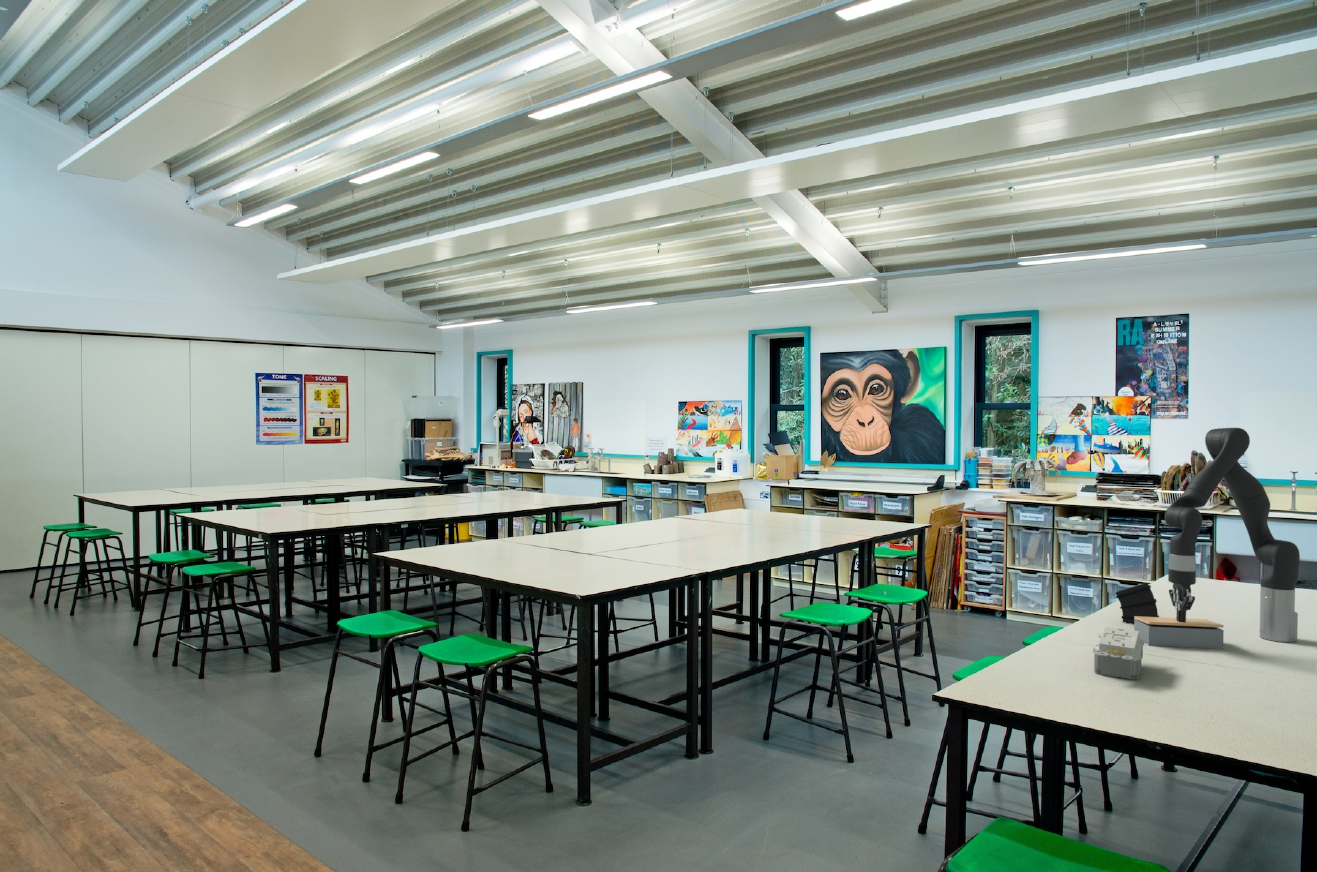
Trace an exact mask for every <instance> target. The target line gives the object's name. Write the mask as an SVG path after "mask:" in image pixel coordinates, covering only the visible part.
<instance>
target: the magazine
mask: <svg viewBox="0 0 1317 872" xmlns="http://www.w3.org/2000/svg"><path fill="white" fill-rule="evenodd" d="M1151 587H1152V585H1150V584H1149V583H1148V582H1144V583H1142V584H1138V585H1135V586H1131V587H1128V588H1125V589H1122V590H1117V591H1115V595H1116V596H1115V599H1118V601H1119V603H1120V606H1119V608H1120V610H1121V611H1122V613H1121V614H1122V615H1121V619H1122V623H1123V622H1126V623H1125V624H1129V623H1132V624H1131V625H1134V616H1140V617H1160V615H1158V613H1159V612H1158V607H1157V602H1158V601H1157V598H1155V596H1154V594H1153V593H1154V592H1153V591H1152V589H1151Z"/></svg>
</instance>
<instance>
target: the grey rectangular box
mask: <svg viewBox="0 0 1317 872" xmlns="http://www.w3.org/2000/svg"><path fill="white" fill-rule="evenodd" d="M1133 626H1134V629H1133V630H1134V631H1139V632H1140V633H1139V638H1141V639H1143V640H1144V644H1146V645H1147V644H1148V646H1153V645H1154V647H1155V646H1156V647H1160V646H1161V647H1175V648H1176V647H1177V648H1178V647H1179V648H1194V649H1195V648H1198V649H1199V648H1200V649H1215V650H1216V649H1217V650H1219V649H1221V650H1224V636H1225V635H1224V631H1225V630H1224V629H1222V628H1221V627H1199V626H1177V625H1155V624H1147V623H1145V622H1142V621H1139V620H1137V619H1134V624H1133Z"/></svg>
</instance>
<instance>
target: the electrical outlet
mask: <svg viewBox="0 0 1317 872" xmlns="http://www.w3.org/2000/svg"><path fill="white" fill-rule="evenodd" d="M1139 633H1140V632H1139V631H1134V629H1127V628H1124V629H1123V628H1120V627H1119V628H1117V627H1110V626H1109V627H1108V626H1104V629H1103V631H1102V632H1101V633H1100V634H1098V639H1097V641H1096V644H1095V646H1094V647H1093V649H1092V653H1093V654H1094V660H1093V661H1094V664H1093V665H1094V666H1093V667H1094V673H1095V674H1098V675H1099V674H1100V675H1101V674H1102V675H1101V676H1106V675H1107V677H1114V678H1118V677H1122V678H1121V679H1124V678H1127V679H1126V680H1137V679H1138V680H1139V679H1140V678H1139V677H1140V675H1141V670H1142V661H1143V660H1142V659H1143V654H1144V646H1145V643H1144V640H1143V639H1141V638H1139ZM1132 678H1134V679H1132Z"/></svg>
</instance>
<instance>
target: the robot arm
mask: <svg viewBox="0 0 1317 872" xmlns="http://www.w3.org/2000/svg"><path fill="white" fill-rule="evenodd" d="M1204 442H1205V448H1206V449H1207V451H1208V453H1209V455H1210V457H1211V459H1212V460H1211V462H1210V463H1208V465H1206V466H1205V467H1204V468H1202V469H1201V470H1200V471H1199V472H1196V474H1195V475H1194V476H1193V477H1192V479H1191V480H1190V482H1189V483H1188V484H1187V485H1186V488H1185V490H1184V491H1183V492H1182V494H1180V495H1179V496H1178V497H1177V498H1176V499H1175V500H1174V501H1173V502H1172V503H1171V504H1170V505H1169V506H1168V507H1167V508H1166V511H1165V512H1164V522H1165V523H1166V524H1167V526H1169V527H1170V528H1174V529H1175V528H1176V529H1181V530H1182V531H1181V533H1180V534H1178V535H1173V536H1172V537H1170V540H1169V557H1168V569H1167V570H1168V573H1167V575H1168V576H1167V577H1168V579H1167V580H1168V582H1169V583H1171V584H1172V589H1168V593H1169V594H1168V595H1169V597H1170V600H1171V603H1172V606H1173V607H1174V608H1175V610H1176V617H1175V618H1176V620H1177V621H1178V622H1186V619H1187V611H1191V609H1192V607H1193V604H1194V603H1195V600H1196V597H1195V596H1194V595H1193V596H1192V587H1191V586H1193V585H1196V583H1197V559H1196V544H1197V541H1198V538H1199V534H1200V531H1201V529H1202V525H1203V516H1202V514H1201V512H1200V511H1199V509H1198V508H1202V507H1204V506H1206V505H1207V503H1208V501H1209V499H1210V498H1211V496H1212V495H1213V493H1214V491H1215V490H1216V489H1217V487H1218V485H1219V483H1220V482H1221V481H1222V479H1223V480H1224V482H1225V483H1226V486H1227V489H1228V491H1229V492H1230V495H1231V498H1232V501H1233V502H1234V504H1235V506H1236V508H1237V510H1238V512H1239V514H1240V516H1241V519H1242V521H1243V524H1244V526H1245V529H1246V531H1247V534H1248V536H1249V541H1250V543H1251V546H1252V549H1253V550H1252V551H1253V553H1254V555H1255V558H1256V559H1257V560H1258V561H1259V563H1260V564H1262V565H1265V566H1269V567H1272V572H1271V574H1270V575H1268V576H1267V575H1266V576H1263V577H1261V578H1260V589H1259V591H1260V592H1259V593H1260V595H1259V596H1260V597H1259V600H1260V604H1259V606H1260V607H1259V638H1261V639H1265V640H1268V641H1272V642H1273V641H1274V642H1281V643H1283V642H1284V643H1292V642H1298V626H1299V625H1298V623H1299V620H1298V618H1299V614H1298V612H1296V611H1295V610H1296V609H1295V608H1296V585H1297V583H1298V580H1299V572H1300V561H1301V558H1300V557H1301V556H1300V549H1299V547H1298V546H1297V545H1296V544H1295V543H1294V542H1291V541H1287V540H1282V539H1276V538H1275V537H1274V536H1273V534H1272V532H1271V530H1270V528H1269V525H1268V519H1269V514H1270V510H1271V502H1270V498H1269V496H1268V494H1267V491H1266V490H1265V487H1264V486H1263V484H1262V483H1261V482H1260V481H1259V480H1258V479H1257V478H1256V477H1255V476H1254V475H1252V474H1251V472H1249V471H1248V470H1247V469H1246V468H1244V467H1243V466H1242V465H1241V464H1240V462H1239V460H1240V459H1241V458H1242V456H1244V455H1245V454H1246V452H1247V451H1248V449H1249V447H1250V443H1251V438H1250V436H1249V433H1248V432H1247V431H1246V429H1243V428H1241V427H1221V428H1219V427H1218V428H1213V429H1210V430H1208V432H1206V435H1205V438H1204Z"/></svg>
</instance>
